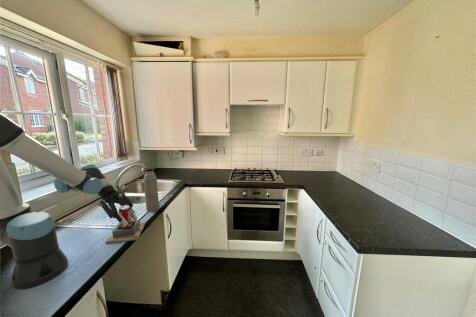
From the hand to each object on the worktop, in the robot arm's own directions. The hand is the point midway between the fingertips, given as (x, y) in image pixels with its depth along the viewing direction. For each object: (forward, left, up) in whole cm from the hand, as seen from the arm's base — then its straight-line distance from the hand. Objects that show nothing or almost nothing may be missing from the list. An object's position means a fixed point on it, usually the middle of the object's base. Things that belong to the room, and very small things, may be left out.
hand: (131, 222), depth 98 cm
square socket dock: (+2, +3, -7) cm, 8 cm away
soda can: (+2, +3, -4) cm, 6 cm away
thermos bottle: (+29, -4, -7) cm, 30 cm away
